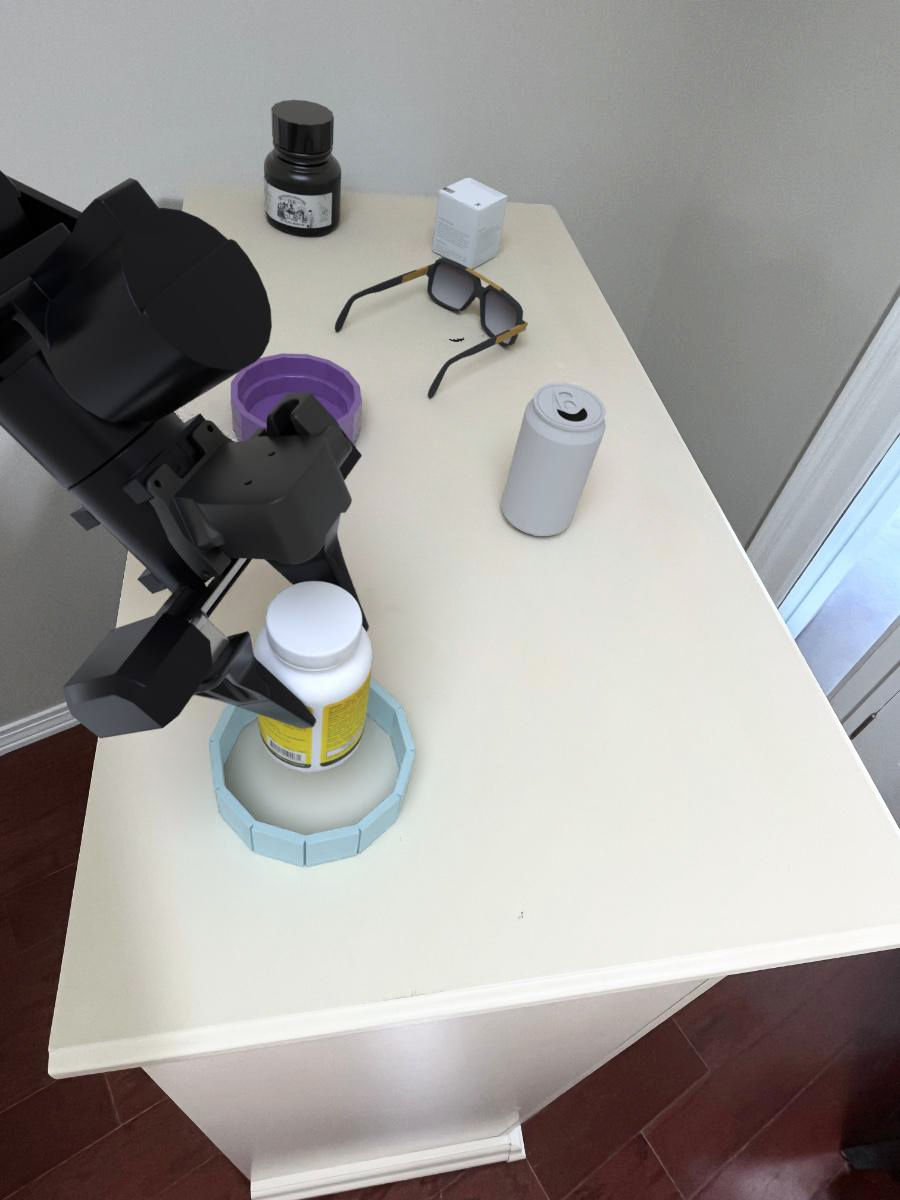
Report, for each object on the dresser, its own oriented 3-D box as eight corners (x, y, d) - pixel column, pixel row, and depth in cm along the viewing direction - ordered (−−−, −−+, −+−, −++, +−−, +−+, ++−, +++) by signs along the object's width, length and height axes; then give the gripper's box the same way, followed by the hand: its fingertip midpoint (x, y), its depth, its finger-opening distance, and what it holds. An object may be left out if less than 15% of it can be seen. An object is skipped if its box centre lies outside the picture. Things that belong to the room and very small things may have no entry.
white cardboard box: (498, 256, 98) (510, 195, 92) (469, 272, 94) (479, 210, 89) (459, 236, 100) (469, 175, 94) (429, 251, 96) (437, 188, 91)
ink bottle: (250, 224, 94) (244, 114, 85) (280, 195, 100) (277, 88, 90) (327, 246, 93) (330, 137, 84) (353, 215, 99) (357, 110, 90)
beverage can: (510, 544, 67) (543, 433, 57) (490, 492, 70) (518, 379, 61) (580, 539, 68) (623, 429, 59) (557, 487, 72) (594, 377, 63)
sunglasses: (334, 332, 83) (335, 287, 79) (435, 290, 91) (440, 247, 87) (429, 400, 78) (435, 356, 74) (526, 349, 86) (536, 307, 82)
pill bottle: (358, 681, 50) (371, 566, 41) (369, 771, 46) (386, 664, 37) (257, 687, 48) (249, 570, 40) (259, 780, 45) (251, 672, 36)
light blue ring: (182, 831, 48) (174, 807, 45) (260, 671, 55) (257, 642, 53) (376, 889, 47) (380, 867, 44) (427, 719, 55) (433, 692, 52)
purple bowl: (213, 448, 69) (208, 411, 66) (262, 377, 76) (260, 341, 73) (335, 482, 68) (337, 446, 65) (373, 407, 76) (376, 372, 73)
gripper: (64, 542, 24) (373, 831, 31) (333, 271, 35) (511, 527, 43) (-69, 609, 31) (210, 832, 38) (193, 364, 42) (368, 570, 50)
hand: (337, 677), depth 42 cm, fingers closed on pill bottle, 6 cm apart
